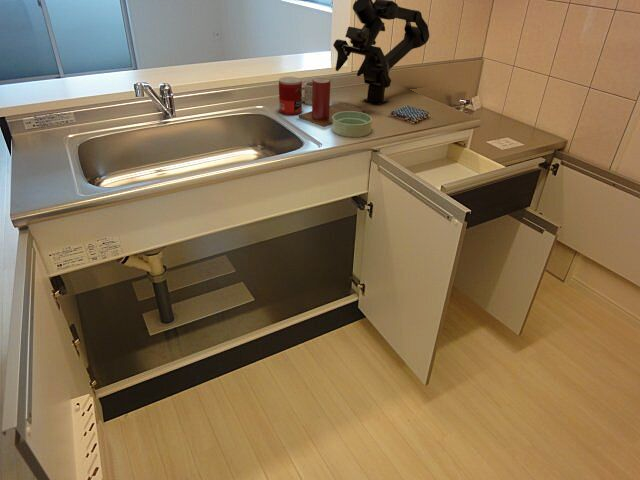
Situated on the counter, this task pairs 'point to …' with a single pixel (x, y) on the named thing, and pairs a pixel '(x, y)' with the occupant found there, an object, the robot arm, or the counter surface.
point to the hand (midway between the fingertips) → (346, 72)
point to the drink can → (320, 98)
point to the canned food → (290, 95)
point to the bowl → (351, 124)
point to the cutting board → (330, 114)
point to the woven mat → (409, 114)
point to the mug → (307, 93)
